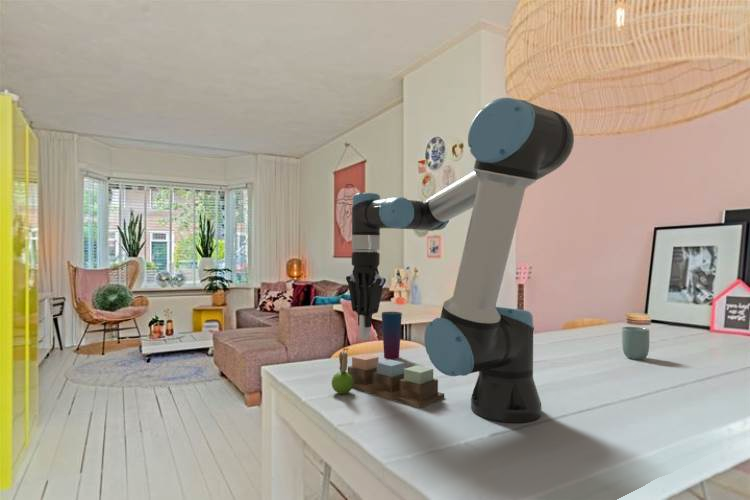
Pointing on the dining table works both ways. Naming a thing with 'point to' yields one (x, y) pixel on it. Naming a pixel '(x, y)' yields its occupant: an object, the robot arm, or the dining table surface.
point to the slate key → (390, 368)
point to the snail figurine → (342, 376)
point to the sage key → (418, 374)
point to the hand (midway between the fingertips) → (364, 338)
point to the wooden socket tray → (395, 387)
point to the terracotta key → (364, 362)
